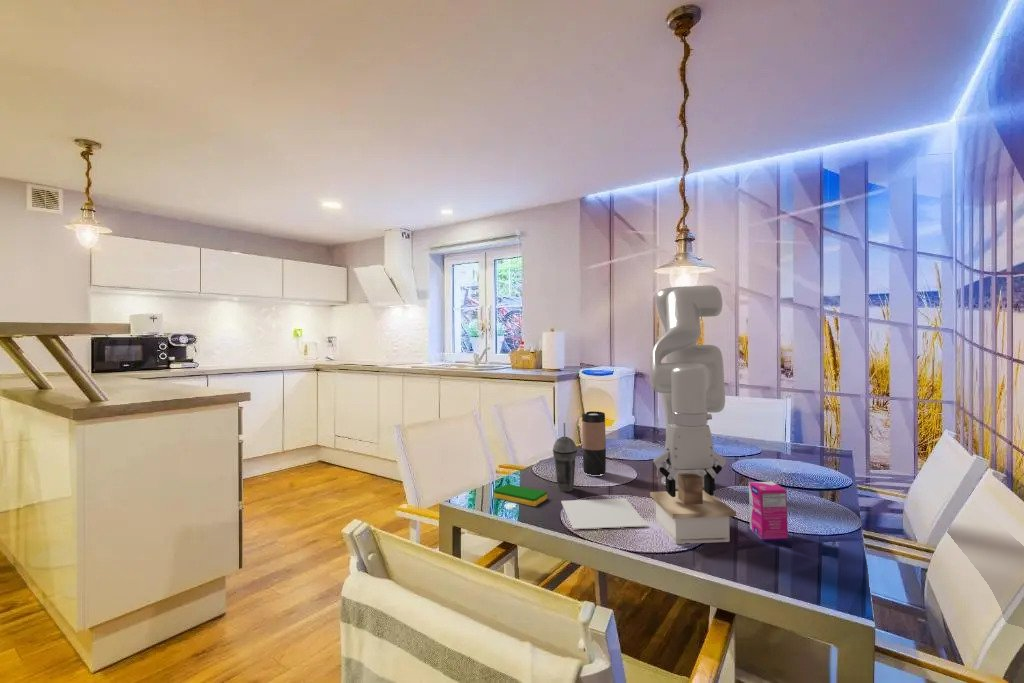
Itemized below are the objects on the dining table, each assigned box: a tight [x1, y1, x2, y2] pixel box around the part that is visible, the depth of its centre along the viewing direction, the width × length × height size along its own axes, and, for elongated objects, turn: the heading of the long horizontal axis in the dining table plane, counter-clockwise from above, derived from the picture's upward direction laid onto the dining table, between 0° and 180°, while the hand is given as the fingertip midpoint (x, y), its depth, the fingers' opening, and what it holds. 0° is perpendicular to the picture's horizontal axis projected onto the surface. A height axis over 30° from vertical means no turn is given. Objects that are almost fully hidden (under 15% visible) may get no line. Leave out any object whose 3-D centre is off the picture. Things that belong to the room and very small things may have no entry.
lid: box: [649, 473, 737, 519], centre depth 106 cm, size 14×14×7 cm
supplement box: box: [748, 480, 789, 542], centre depth 102 cm, size 6×6×12 cm
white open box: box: [655, 501, 731, 545], centre depth 106 cm, size 12×12×6 cm
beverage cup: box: [552, 422, 578, 492], centre depth 136 cm, size 7×7×20 cm
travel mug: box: [581, 410, 607, 475], centre depth 151 cm, size 8×8×20 cm
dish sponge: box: [493, 483, 548, 507], centre depth 130 cm, size 7×14×2 cm, turn 56°
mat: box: [560, 497, 649, 530], centre depth 117 cm, size 18×18×1 cm
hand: (690, 494), depth 106 cm, fingers open, 8 cm apart
